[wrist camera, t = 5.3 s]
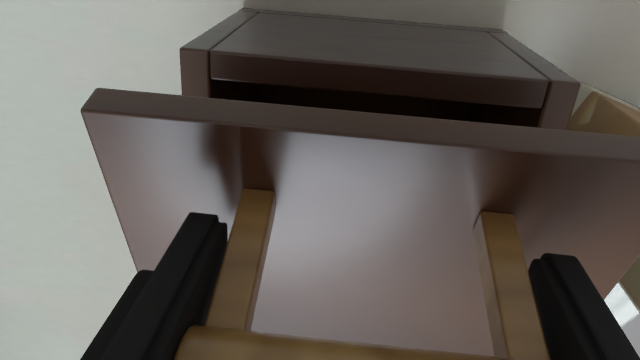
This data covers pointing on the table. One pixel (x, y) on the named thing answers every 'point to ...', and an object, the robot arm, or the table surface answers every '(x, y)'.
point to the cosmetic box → (616, 119)
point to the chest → (377, 69)
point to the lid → (365, 222)
